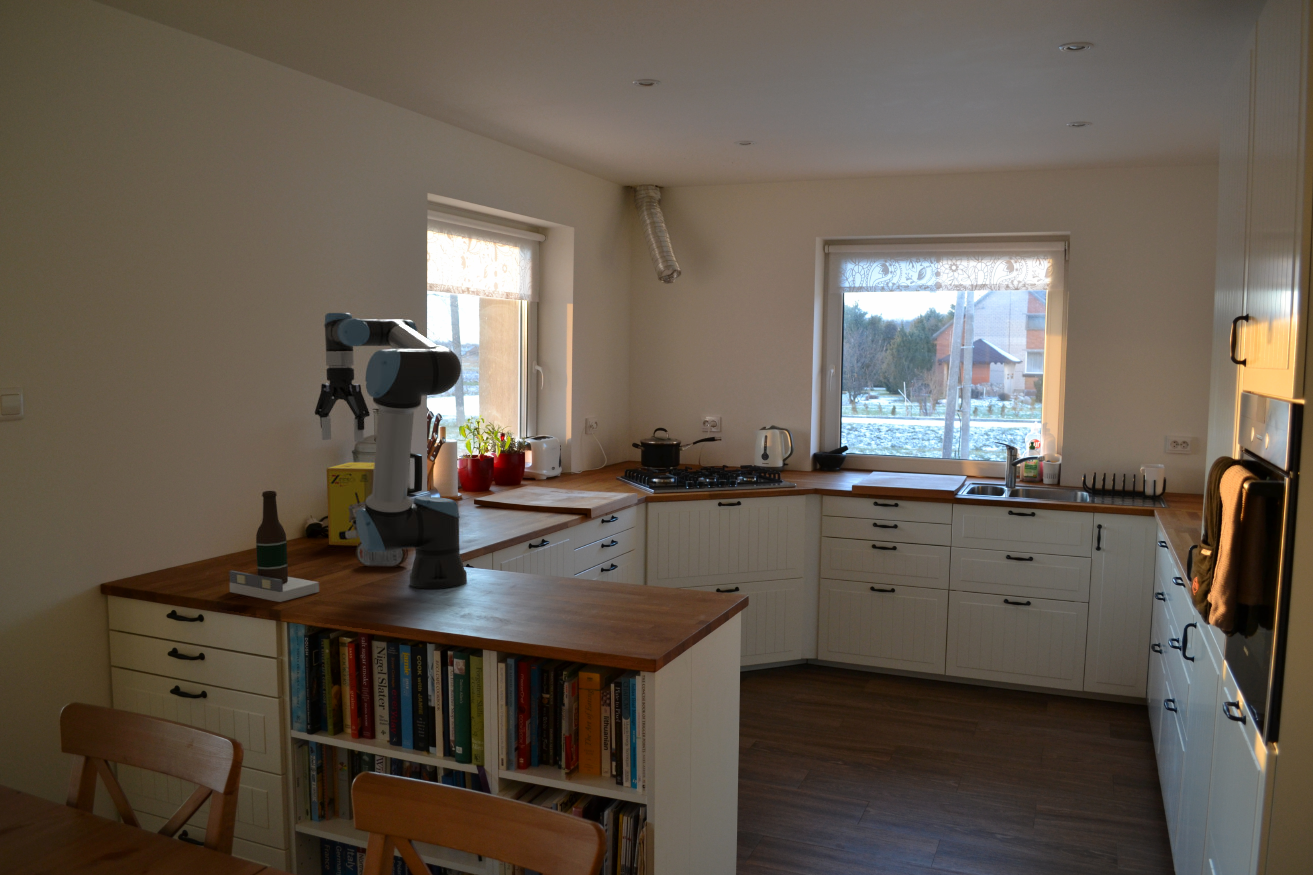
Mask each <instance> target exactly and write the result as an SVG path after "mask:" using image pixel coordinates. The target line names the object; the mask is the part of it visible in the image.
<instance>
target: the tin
mask: <svg viewBox="0 0 1313 875" xmlns="http://www.w3.org/2000/svg"><path fill="white" fill-rule="evenodd" d="M408 549H409V548H407V549H399V550H392V551H385V552H369V551H367V550H366V549H365V548H364V547H363V545H362V543H361V542H360V543H359V544H358V546H356V549H355V556H356V559H357V561H358V562H359V563H360V564H361V565H362V566H365V567H368V568H397V567H399V566H401V565H403V564H405V562H406V561H407V558H408V556H409V550H408Z"/></svg>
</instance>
